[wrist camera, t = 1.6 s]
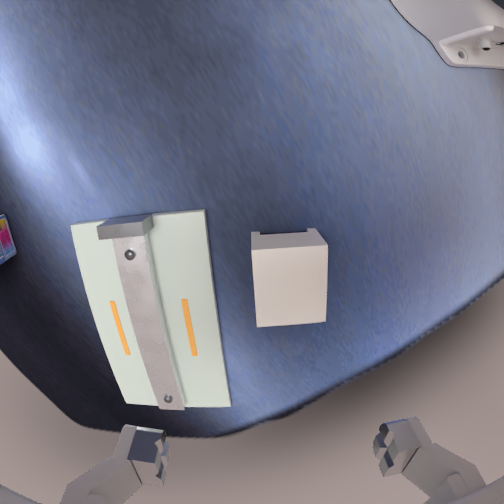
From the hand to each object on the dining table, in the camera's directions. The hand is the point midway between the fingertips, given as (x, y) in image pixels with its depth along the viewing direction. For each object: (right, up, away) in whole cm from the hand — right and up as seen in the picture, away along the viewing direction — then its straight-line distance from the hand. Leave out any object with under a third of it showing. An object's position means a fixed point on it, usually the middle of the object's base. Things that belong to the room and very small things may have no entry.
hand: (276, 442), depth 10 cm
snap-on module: (+2, +6, +21) cm, 21 cm away
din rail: (-11, -1, +22) cm, 24 cm away
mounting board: (-11, -1, +23) cm, 25 cm away
